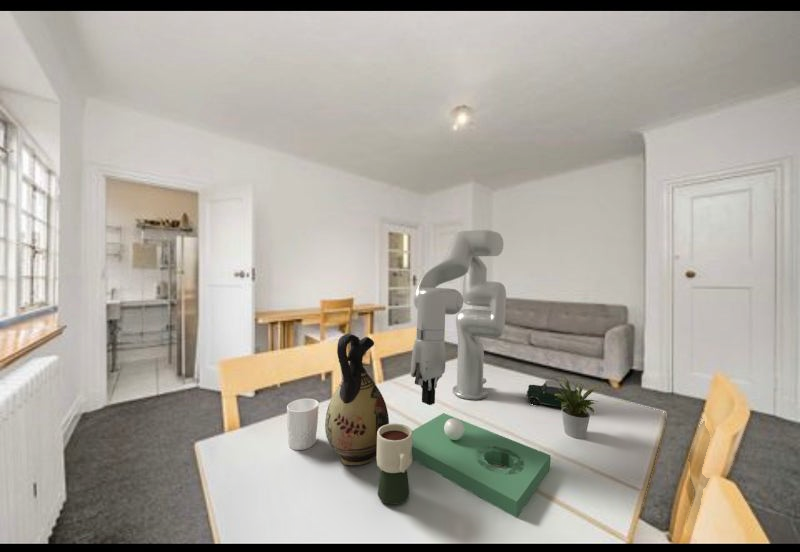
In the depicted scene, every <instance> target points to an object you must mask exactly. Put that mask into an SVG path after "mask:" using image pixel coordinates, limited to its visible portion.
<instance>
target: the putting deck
mask: <svg viewBox="0 0 800 552" xmlns="http://www.w3.org/2000/svg"><path fill="white" fill-rule="evenodd" d="M451 418H456V419H458V420H460V421H461V422H462V424H463V426H464V434H463V436H462V437H461V438H460V439H458V440H451V439H450V438H448V437H447V436H446V434H445V431H444V425H445V423H446V421H447V420H449V419H451ZM412 443H413V444H412V460H413V461H416V462H417V463H419V464H421V465H423V466H424V467H426V468H427V469H429V470H431V471H432V472H435V473H437V474H439V475H440V476H442V477H443V478H446V479H447V480H449V481H450V482H452V483H454V484H456V485H457V486H460V487H461V488H463V489H465V490H467V491H468V492H470V493H472V494H474V495H475V496H477V497H479V498H481V499H483V500H484V501H485V502H488V503H490V505H493V506H495V507H497V508H498V509H501V510H502V511H504V512H506V514H509V515H511V516H512V517H514V518H515V519H516V518H518V516H519V515H520V513H521V512H522V511H523V509H524V508H525V506H526V505H527V503H528V502H529V500H530V499H531V497H532V496H533V495H534V493H535V491H536V490H537V489H538V487H539V485H540V484H541V482H542V481H543V480H544V479H545V477H546V476H547V474H548V472H549V471H550V470H551V459H552V457H551V456H552V455H551V454H548V453H546V452H543V451H541V450H537V449H536V448H534V447H531V446H528V445H525V444H523V443H522V442H518V441H515V440H513V439H510V438H508V437H506V436H503V435H500V434H498V433H495V432H493V431H490V430H488V429H485V428H482V427H480V426H477V425H474V424H472V423H470V422H469V421H464V420H463V419H459V418H457V417H455V416H452V415H449V414H447V413H444V412H443V413H442V414H439V415H437V416H436V417H434V418H432V419H430V420H429V421H427V422H425V423H423V424H422V425H420V426H418V427H417V428H414V429H413V430H412ZM492 464H498V465H502V466H504V467H507V468H502V467H497V466H494V465H492Z"/></svg>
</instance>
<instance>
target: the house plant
mask: <svg viewBox="0 0 800 552" xmlns="http://www.w3.org/2000/svg"><path fill="white" fill-rule="evenodd" d="M549 377H550V378H553V379H554V380H555V381H558V382H559V380H558V379H557V378H555V377H554V376H551V375H549ZM580 378H581V377H578V379H577V381H576V383H575V386H576V388H575V392H573V394H572V391H571V388H570V385H569V382H570V381H569V380H568V379H567V378H566V377H565V376H563V377H561V379H562V382H564V383H565V386H566V387H567V389H568V391H567V390H566V389H565V388H564V387H563V386H562V385H561V384H560V382H561V381H560V382H559V384H560V386H561V387H562V388H563V390H564V392H565V393H566V395H567V397H568V399H569V401H570V403H569V402H568V400H567V398H566V397H565V395H564V393H563V392H562V391H561V389H559V388H558V387H557V388H558V389H559V390H560V391H561V392H562V394H563V396H562V395H561V394H555V396H558V397H557V398H560V399H563V400H564V401H565V402H562V401H561V402H562V403H561V407H560V409H561V415H562V421H563V423H562V424H563V430H564V433H565V434H566V435H567V436H569V437H570V438H573V439H579V440H582V439H583V440H584V439H585V438H586V436H587V431H588V427H589V423H590V418H591V414H590V413H589V412H588V411H587V409H588V410H590V412H591V413H592V414H593V415H595V414H594V413H595V409H594V408H593V407H592V406H591V405H594V404H598V403H599V401H598V400H596V402H597V403H596V402H595V400H593V399H587V397H589V395H591V394H592V393H594V392H595V389H597V388H598V387H601V386H602V384H599V385H595V386H592V387H590V389H588V390H586V392H584V394H583V395H582V393H583V389H584V388H583V386H585V385H586V383H584V384H583V381H581V382H580V384H579V388H578V383H579V380H580ZM555 385H558V384H555ZM552 387H553V386H552ZM577 388H578V389H577ZM576 389H577V392H576ZM568 392H569V393H568ZM581 395H582V399H581V400H580V396H581ZM556 400H558V399H556ZM579 400H580V401H579ZM578 402H579V403H578ZM566 405H567V406H568V407H567V406H566ZM563 406H566V407H563Z"/></svg>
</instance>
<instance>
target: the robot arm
mask: <svg viewBox="0 0 800 552" xmlns="http://www.w3.org/2000/svg"><path fill="white" fill-rule="evenodd" d="M449 243H450V244H449V245H448V248H447V251H446V253H445V256H444V258H443V260H442V261H441V262H439V263H437V264H436V265H434V266H433V267H432V268H430V269H429V270H428V271H426V272H425V273H424V275H422V277H421V279H420V280H419V283H418V285H417V286H416V290H415V292H414V297H413V304H414V307H415V308H416V310H417V313H416V314H417V315H416V317H417V320H416V339H414V343H413V346H412V353H411V361H410V363H411V364H410V376H411V378H415V379H414V385H416V386H420V388H421V389H422V390H421V402H422V403H423V404H426V405H427V406H433V405H435V403H436V402H435V401H436V389H437V387H438V386H437V385H438V381H439V380H440V379H441V378H442V377H443V374H444V373H446V372H445V371H446V345H445V343H446V341H445V335H446V334H445V333H446V332H445V331H446V315H447V316H449V315H452V316H453V315H456V317H455V325H456V333H457V364H456V365H457V368H456V369H457V370H456V371H457V372H456V385H454V386H453V387H452V393H453V395H455V396H456V397H459V398H460V399H461V398H462V399H466V400H476V401H477V400H482V399H484V398H486V397H487V396H488V391H487V389H485V388H484V384H486V383H487V382H488V380H487V379H486V378H485V377H484V358H485V357H484V356H485V353H484V352H485V349H484V344H483V343H482V340H481V339H480V338H479V337H485V338H495V339H498V338H500V337H502V336H503V334H504V332H505V325H506V323H505V322H506V308H507V306H506V305H507V291H506V287H505V285H504V284H503V283H502V282H500V281H487V275H488V268H487V267H486V264H485V263H484V261H482V259H481V258H480V257H499V256H500V255H501V254H502V252H503V249H504V238H503V237H502V234H501V233H499V232H496V231H492V230H488V229H481V230H480V229H477V230H462V231H458V232H457V233H456V234H454V235H453V237H452V239H451V242H449ZM461 277H463V280H462V281H463V282H462V293H461V292H460V291H459V290H458V289H455V288H445V287H444V288H443V287H438V286H440V285H442V284H445V283H447V282H452V281H454V280H457V279H459V278H461ZM464 304H465V305H467V306H472V307H474V306H475V307H483V308H486V307H487V308H490V309H491V310H486V309H485V310H484V309H474V308H472V309H471V308H467V309H466V308H465V309H463V305H464Z"/></svg>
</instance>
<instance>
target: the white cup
mask: <svg viewBox="0 0 800 552" xmlns="http://www.w3.org/2000/svg"><path fill="white" fill-rule="evenodd" d="M319 403H320V402H319V401H318V400H316V399H313V398H299V399H295V400H293V401H291V402H289V403H288V404H287V405H286V420H287V421H286V422H287V436H288V437H287V439H288V446H289V448H290V449H291V450H293V451H302V450H307V449H310V448H312V447H313V446H314V445H315V444H316V441H317V432H318V425H319V424H318V423H319V422H318V420H319V408H320V407H319V406H320V404H319Z"/></svg>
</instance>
